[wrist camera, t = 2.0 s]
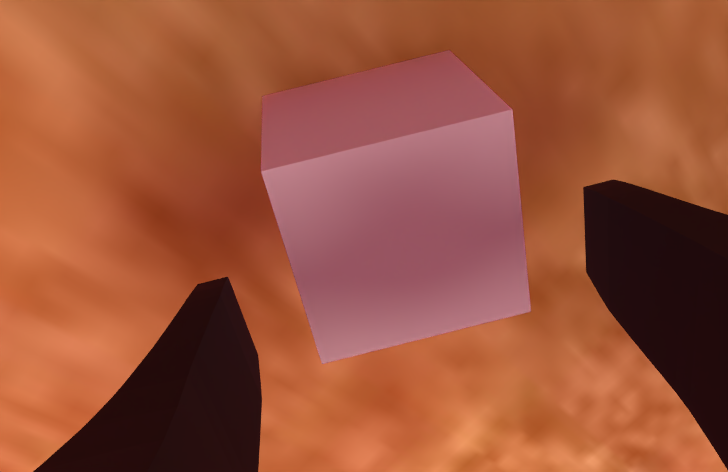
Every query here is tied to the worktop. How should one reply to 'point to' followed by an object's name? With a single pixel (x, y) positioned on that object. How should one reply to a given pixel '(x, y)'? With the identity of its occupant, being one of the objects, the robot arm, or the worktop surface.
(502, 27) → the worktop surface
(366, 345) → the cube
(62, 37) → the worktop surface
